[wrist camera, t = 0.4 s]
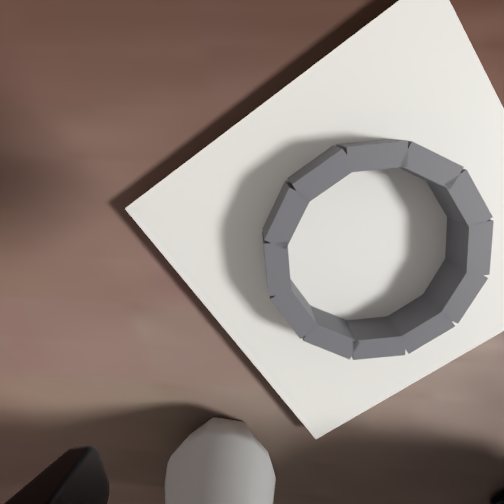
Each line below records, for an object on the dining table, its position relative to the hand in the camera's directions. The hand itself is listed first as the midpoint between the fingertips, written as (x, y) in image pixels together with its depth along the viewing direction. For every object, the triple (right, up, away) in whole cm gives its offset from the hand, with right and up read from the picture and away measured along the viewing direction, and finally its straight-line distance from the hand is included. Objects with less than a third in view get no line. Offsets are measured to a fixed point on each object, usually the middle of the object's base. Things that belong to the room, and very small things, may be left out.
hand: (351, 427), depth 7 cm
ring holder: (+4, +4, +13) cm, 14 cm away
